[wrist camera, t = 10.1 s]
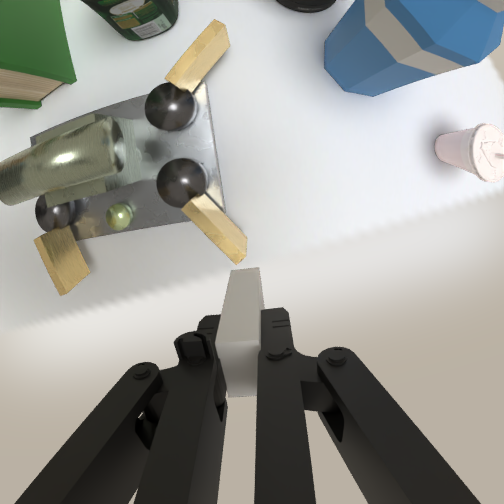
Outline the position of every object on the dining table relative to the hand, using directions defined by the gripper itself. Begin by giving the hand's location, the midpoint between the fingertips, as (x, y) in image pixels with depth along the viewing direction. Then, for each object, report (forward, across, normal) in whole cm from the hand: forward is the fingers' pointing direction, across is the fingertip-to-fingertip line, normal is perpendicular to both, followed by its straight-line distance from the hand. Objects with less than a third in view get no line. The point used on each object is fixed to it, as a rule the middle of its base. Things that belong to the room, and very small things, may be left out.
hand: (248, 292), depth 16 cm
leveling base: (+19, -15, +8) cm, 26 cm away
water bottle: (+20, +15, +17) cm, 30 cm away
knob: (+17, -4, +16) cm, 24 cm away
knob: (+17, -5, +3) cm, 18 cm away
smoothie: (+20, +26, +6) cm, 33 cm away
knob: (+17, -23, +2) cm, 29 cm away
